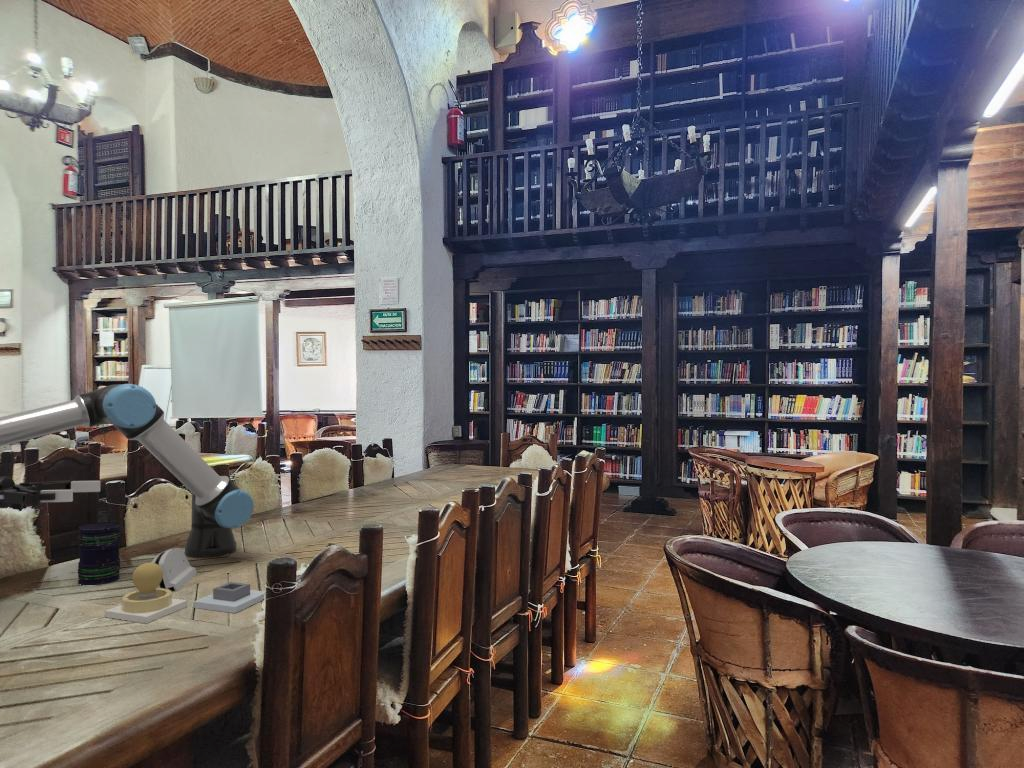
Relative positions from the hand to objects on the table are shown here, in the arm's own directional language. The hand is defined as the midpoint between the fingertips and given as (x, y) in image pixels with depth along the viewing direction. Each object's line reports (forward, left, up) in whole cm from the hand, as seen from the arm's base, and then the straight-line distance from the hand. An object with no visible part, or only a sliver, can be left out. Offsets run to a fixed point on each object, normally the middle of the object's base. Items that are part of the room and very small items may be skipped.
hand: (86, 490), depth 157 cm
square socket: (-13, +32, -28) cm, 44 cm away
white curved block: (-22, +6, -28) cm, 36 cm away
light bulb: (-1, +18, -26) cm, 32 cm away
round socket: (-1, +18, -28) cm, 33 cm away
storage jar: (-16, -14, -28) cm, 35 cm away
